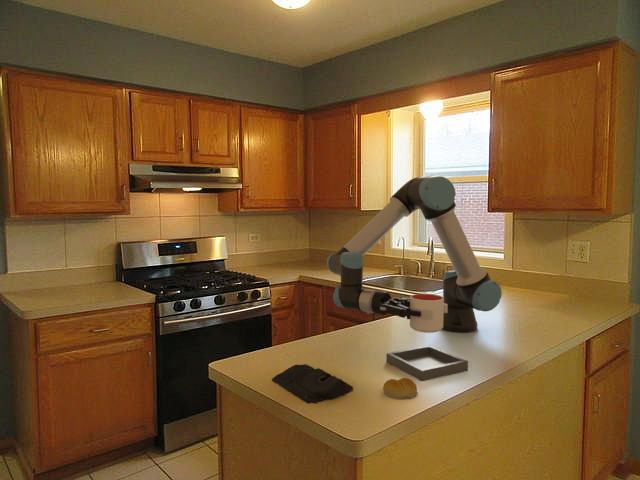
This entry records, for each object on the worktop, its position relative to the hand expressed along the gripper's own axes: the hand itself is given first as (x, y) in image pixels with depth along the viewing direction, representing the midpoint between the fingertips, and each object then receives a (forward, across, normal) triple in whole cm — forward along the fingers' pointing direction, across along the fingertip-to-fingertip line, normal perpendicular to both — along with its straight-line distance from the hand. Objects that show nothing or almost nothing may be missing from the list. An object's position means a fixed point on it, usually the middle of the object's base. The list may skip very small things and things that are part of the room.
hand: (439, 311), depth 142 cm
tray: (-4, 0, -18) cm, 18 cm away
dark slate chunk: (-23, +33, -19) cm, 44 cm away
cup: (-4, 0, -6) cm, 8 cm away
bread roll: (-1, +22, -18) cm, 29 cm away
